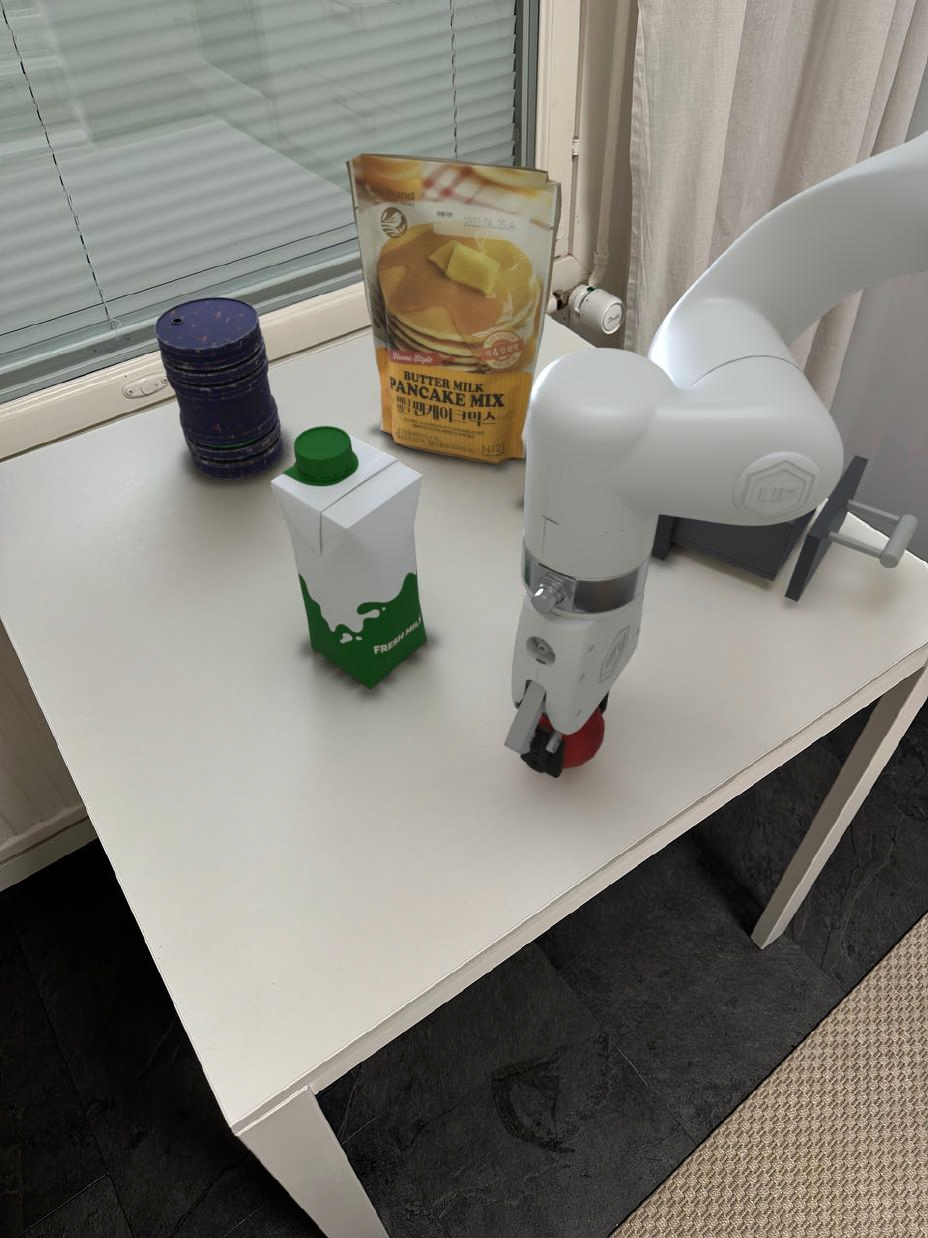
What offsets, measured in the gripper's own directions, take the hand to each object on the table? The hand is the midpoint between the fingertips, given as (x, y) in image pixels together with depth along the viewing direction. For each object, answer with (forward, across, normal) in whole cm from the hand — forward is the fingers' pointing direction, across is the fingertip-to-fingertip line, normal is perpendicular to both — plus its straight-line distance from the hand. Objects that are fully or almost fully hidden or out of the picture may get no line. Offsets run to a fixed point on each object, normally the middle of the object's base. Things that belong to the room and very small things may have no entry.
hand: (564, 733), depth 66 cm
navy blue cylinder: (+3, +15, +48) cm, 50 cm away
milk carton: (+3, +1, +19) cm, 19 cm away
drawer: (+2, +31, -6) cm, 31 cm away
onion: (+3, 0, 0) cm, 3 cm away
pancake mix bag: (+3, +29, +30) cm, 42 cm away
